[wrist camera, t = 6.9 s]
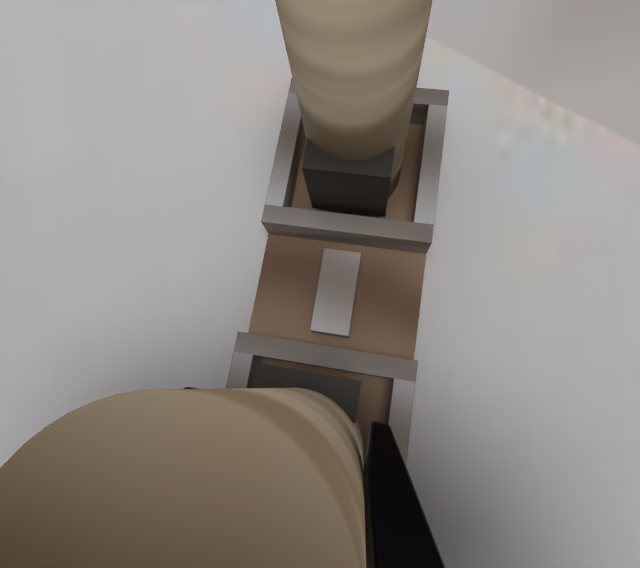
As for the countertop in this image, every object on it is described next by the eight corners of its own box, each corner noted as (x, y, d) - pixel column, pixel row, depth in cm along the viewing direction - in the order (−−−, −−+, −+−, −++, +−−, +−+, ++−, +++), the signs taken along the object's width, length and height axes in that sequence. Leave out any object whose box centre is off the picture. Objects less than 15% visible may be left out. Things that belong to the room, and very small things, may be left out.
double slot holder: (385, 565, 17) (390, 599, 14) (216, 527, 18) (191, 551, 15) (440, 111, 21) (451, 73, 19) (302, 99, 22) (294, 61, 20)
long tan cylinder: (392, 226, 19) (456, -91, 6) (306, 215, 19) (205, -96, 7) (405, 138, 20) (480, -289, 7) (322, 130, 20) (259, -280, 8)
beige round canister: (354, 506, 16) (325, 1016, 3) (251, 484, 16) (-145, 838, 3) (371, 384, 16) (403, 375, 4) (274, 367, 17) (28, 312, 4)
